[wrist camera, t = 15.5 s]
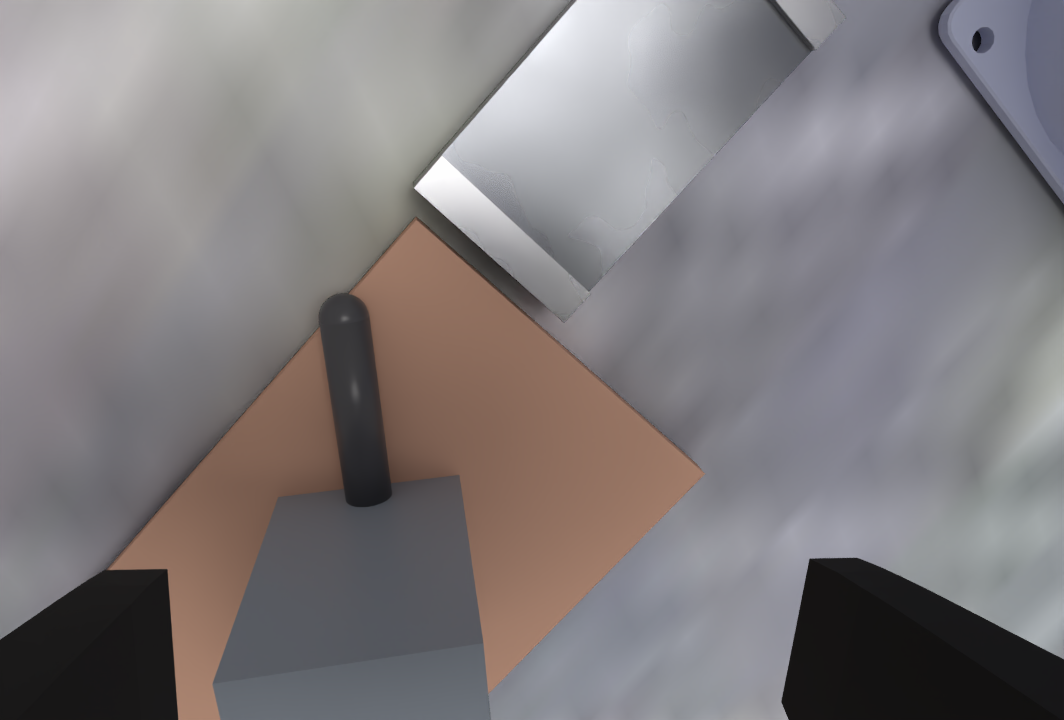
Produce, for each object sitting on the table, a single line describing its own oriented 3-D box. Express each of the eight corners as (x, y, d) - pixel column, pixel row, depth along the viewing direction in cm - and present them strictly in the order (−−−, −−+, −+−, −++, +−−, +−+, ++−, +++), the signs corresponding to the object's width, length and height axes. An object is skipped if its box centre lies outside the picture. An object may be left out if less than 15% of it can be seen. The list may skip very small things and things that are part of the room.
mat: (696, 463, 19) (704, 473, 18) (354, 811, 20) (353, 831, 20) (416, 216, 16) (416, 219, 16) (45, 639, 18) (33, 656, 17)
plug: (440, 280, 16) (456, 364, 10) (474, 624, 19) (502, 842, 13) (242, 297, 16) (147, 397, 10) (305, 649, 18) (257, 887, 12)
